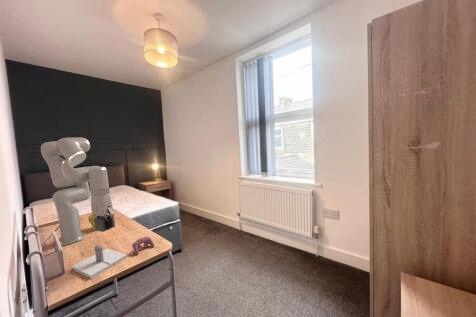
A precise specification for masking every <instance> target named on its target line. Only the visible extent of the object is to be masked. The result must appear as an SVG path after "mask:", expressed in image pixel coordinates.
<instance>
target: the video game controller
mask: <svg viewBox="0 0 476 317" xmlns="http://www.w3.org/2000/svg"><path fill="white" fill-rule="evenodd" d="M142 244H143V245H142ZM149 245H150V246H151V247H152V248H153V247H155V243H154V241H153V240H152V238H151V237H149V236H143V237H140V238H138V239H137V240H136V241H134V242H133V243H132V249H133V251H134V252H135V254H136V255H139V254H140V251H142V250H143V248H145V249H146V248H148V247H149Z"/></svg>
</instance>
